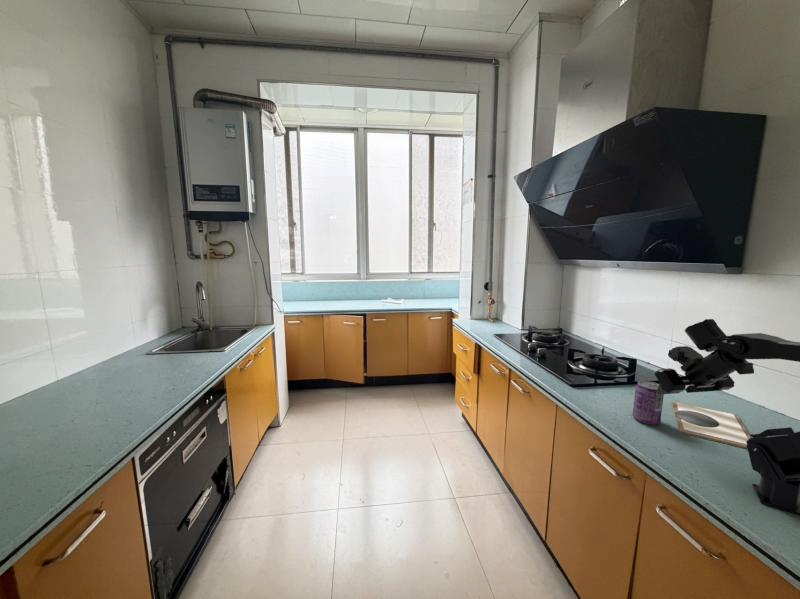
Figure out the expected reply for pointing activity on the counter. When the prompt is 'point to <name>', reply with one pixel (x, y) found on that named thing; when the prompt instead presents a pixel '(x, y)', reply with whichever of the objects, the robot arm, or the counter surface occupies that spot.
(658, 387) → the robot arm
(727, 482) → the counter surface
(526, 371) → the counter surface
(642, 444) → the counter surface
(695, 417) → the wooden tray
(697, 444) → the counter surface
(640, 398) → the beverage can
